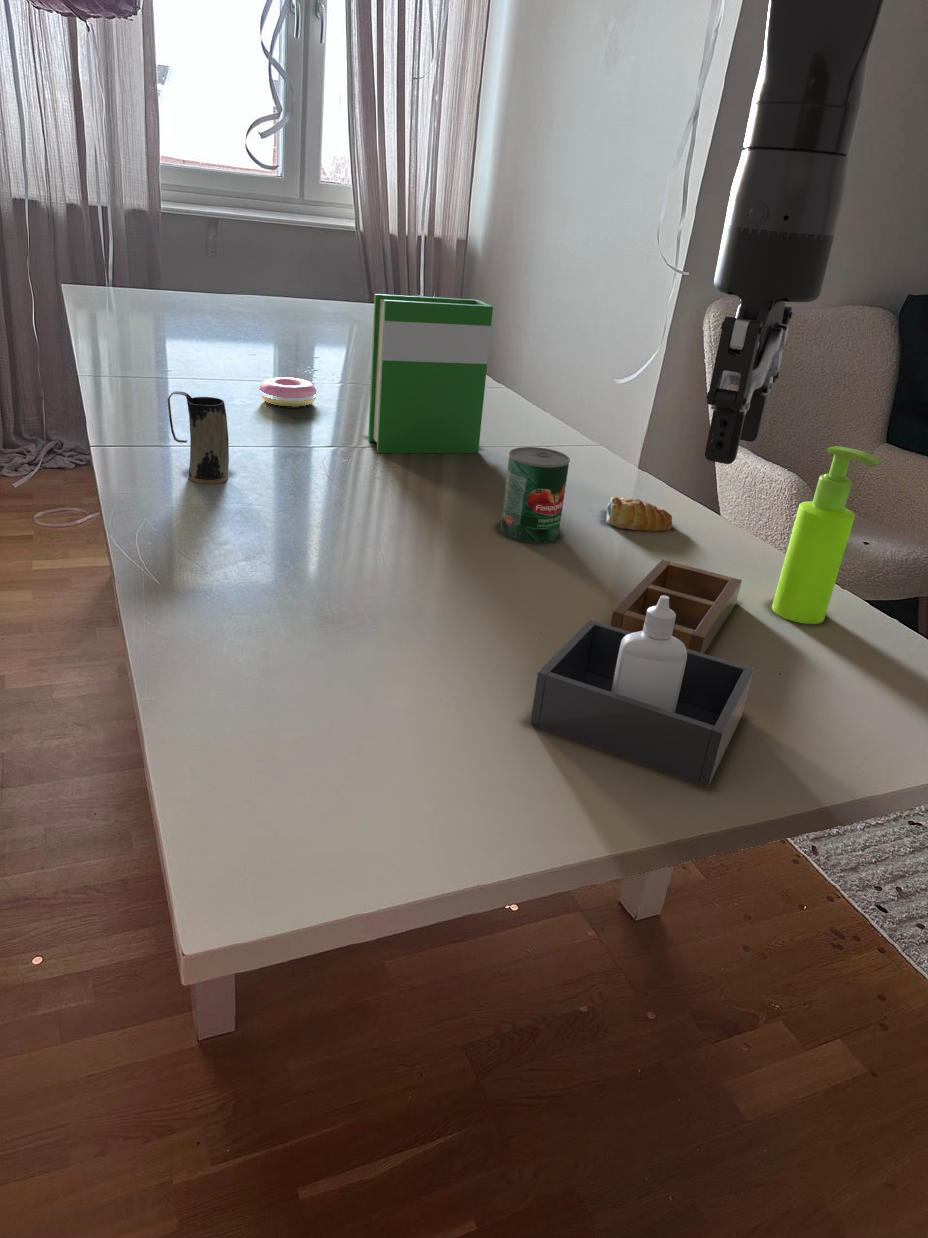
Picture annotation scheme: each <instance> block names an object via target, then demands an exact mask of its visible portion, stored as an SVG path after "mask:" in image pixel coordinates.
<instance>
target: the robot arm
mask: <svg viewBox="0 0 928 1238" xmlns="http://www.w3.org/2000/svg"><path fill="white" fill-rule="evenodd" d="M884 2H885V0H769V1H768V11H767V18H766V19H767V20H766V27H765V28H766V29H765V36H764V37H765V38H764V47H763V55H762V60H761V64H760V68H759V73H758V76H757V80H756V83H755V87H754V91H753V95H752V99H751V106H750V109H749V116H748V121H747V125H746V131H745V136H744V141H743V147H742V148H743V149H742V150H741V155H740V159H739V161H738V166H737V167H736V171H735V175H734V178H733V182H732V185H731V189H730V194H729V195H730V196H729V200H728V203H727V210H726V216H725V220H724V227H723V231H722V235H721V242H720V246H719V252H718V258H717V263H716V269H715V273H714V279H713V286H714V288H715V290H716V291H717V292H719V293H722V294H726V295H729V296H736V297H738V298H739V305H738V307H737V310H736V314H735V316H728V315H727V316H726V315H725V317H724V319H723V321H722V322H721V327H720V330H721V332H720V336H719V341H718V346H717V351H716V356H715V360H714V365H713V370H712V375H711V379H710V384H709V389H708V392H707V393H706V404H707V405H710V408H711V410H713V411H712V416H711V420H710V426H709V429H708V430H709V432H708V436H707V441H706V444H705V445H706V446H705V451H704V457H705V459H706V460H707V461H709V462H714V463H719V464H723V465H730V464H731V465H732V463H733V462H735V460H736V459H737V456H738V453H739V452H738V451H739V446H740V443H741V441H745V442H754V441H755V440H756V439H757V438H758V437H759V433H760V430H761V425H762V420H763V416H764V411H765V407H766V402H767V398H768V395H770V394H771V391H773V389H774V385H775V383H776V382H777V380H778V379H779V376H780V372H779V370H780V368H781V367H780V366H781V364H782V360H783V352H784V347H785V345H786V342H787V339H788V337H789V331H790V321H791V319H792V317H793V313H794V312H793V307H792V306H786V303H810V302H814V301H816V300H818V299H819V297H820V295H821V293H822V289H823V285H824V280H825V276H826V272H827V268H828V263H829V259H830V255H831V250H832V247H833V242H834V239H835V234H836V230H837V226H838V222H839V217H840V213H841V209H842V205H843V201H844V196H845V190H846V182H847V181H846V180H847V173H848V165H849V161H850V159H849V156H850V155H851V151H852V146H853V143H854V138H855V134H856V131H857V127H858V126H857V125H858V122H859V119H860V112H861V109H862V104H863V98H864V93H865V85H866V79H867V70H868V69H867V67H868V60H869V55H870V51H871V47H872V43H873V40H874V37H875V34H876V31H877V27H878V24H879V20H880V16H881V12H882V10H883V5H884ZM731 385H734V386H738V389H737V390H732V389H727V387H728V386H731ZM765 394H766V395H765Z"/></svg>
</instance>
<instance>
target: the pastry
mask: <svg viewBox="0 0 928 1238" xmlns="http://www.w3.org/2000/svg"><path fill="white" fill-rule="evenodd" d="M605 521H606V523H607V524H608V525H609V526H612V527H615V528H619V529H623V530H625V529H627V530H630V531H659V532H660V531H666V530H671V529H672V526H673V516H672V514H670V513H669V512H668V511H667V510H666V509H663V508H658V507H657V506H656V505H654V504H651V503H648V502H646V501H642V500H641V499H639V498H633V499H632V498H628V497H623V496H622V497H621V498H619V497H617V496H611V497H610V500H609V501H608V503H607V506H606V519H605Z"/></svg>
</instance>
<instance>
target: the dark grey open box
mask: <svg viewBox="0 0 928 1238" xmlns="http://www.w3.org/2000/svg"><path fill="white" fill-rule="evenodd" d="M631 633H633V632H629V631H626V630H623V629H619V628H616V627H613V626H610V624H606V623H603V622H600V621H599V622H598V621H596V620H592V619H589V620H588V621H587V622H586V623H585V624H584V625H583V626H582V627H581V628H580V629H579V630H578V631H577V632H576V633H575V634H574V635H573V636H572V637H571V638H570V639H569V640H568V641H567V642H566V643H565V644H564V645H563V646H562V647H561V648H560V649H559V651H557V653H555V655H554V656H552V658H550V660H548V661H547V662H546V664H545V665H544V666H542V668H541V669H540V670H539V671H538V672H537V676H536V681H535V689H534V695H533V702H532V708H531V716H530V722H529V724H530V725H533V726H536V727H539V728H541V729H544V730H546V731H550V732H553V733H555V734H558V735H561V736H563V737H567V738H569V739H572V740H575V741H578V742H581V743H583V744H586V745H589V746H592V747H595V748H597V749H601V750H603V751H606V752H608V753H612V754H615V755H618V756H620V757H623V758H625V759H628V760H632V761H634V762H637V763H640V764H642V765H645V766H648V767H651V768H654V769H657V770H659V771H662V772H665V773H668V774H670V775H674V776H677V777H679V778H682V779H685V780H688V781H690V782H693V783H696V784H699V785H701V786H704V787H707V788H708V787H709V786H710V784H711V782H712V780H713V778H714V776H715V774H716V771H717V769H718V768H719V765H720V763H721V761H722V759H723V757H724V755H725V752H726V750H727V749H728V746H729V744H730V742H731V740H732V738H733V736H734V734H735V731H736V729H737V727H738V725H739V723H740V721H741V719H742V716H743V713H744V709H745V705H746V701H747V698H748V695H749V691H750V687H751V683H752V679H753V675H754V672H755V669H754V668H753V667H750V666H745V665H743V664H740V663H737V662H733V661H731V660H727V659H724V658H719V657H716V656H713V655H709V654H707V653H704V654H703V653H700V652H697V651H693V650H690V649H686V650H687V660H686V665H685V670H684V675H683V679H682V683H681V688H680V692H679V697H678V701H677V705H676V710H675V713H674V712H671V711H668V710H665V709H662V708H659V707H655V706H652V705H649V704H646V703H643V702H640V701H637V700H634V699H631V698H628V697H625V696H622V695H619V694H616V693H613V692H611V689H612V684H613V679H614V674H615V669H616V663H617V658H618V653H619V649H620V644H621V641H622V639H623V638H624V637H625V636H626V635H628V634H631Z"/></svg>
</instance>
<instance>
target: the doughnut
mask: <svg viewBox="0 0 928 1238" xmlns="http://www.w3.org/2000/svg"><path fill="white" fill-rule="evenodd" d="M259 390H261V391H262V392H264V393H266V394H269V395H273V396H277V397H282V398H305V397H310V396H313V395H314V394H316V392H317V393H318V391H317V390H318V388H316V387H315V385H314V384H313V382H310V381H308V380H307V379H301V378H294V377H285V376H281V377H273V378H267V379H266V380H264V381H262V382H260V385H259ZM260 398H261V399H262V400H263V401H264V402H265V401H266V402H265V403H267V402H268V403H267V404H269V403H271V404H274V405H273V406H275V405H280V406H292V407H291V408H300V407H299V406H304V407H307V406H306V405H308V406H310V405H312V404H313V403H314V402H315V401H316V399H317V396H316V397H315V398H313V399H310V400H304V401H284V400H276V399H271V398H267V397H264V396H262V395H261V393H260ZM311 403H312V404H311ZM271 404H270V405H271ZM309 404H310V405H309ZM280 406H279V407H280Z"/></svg>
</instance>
